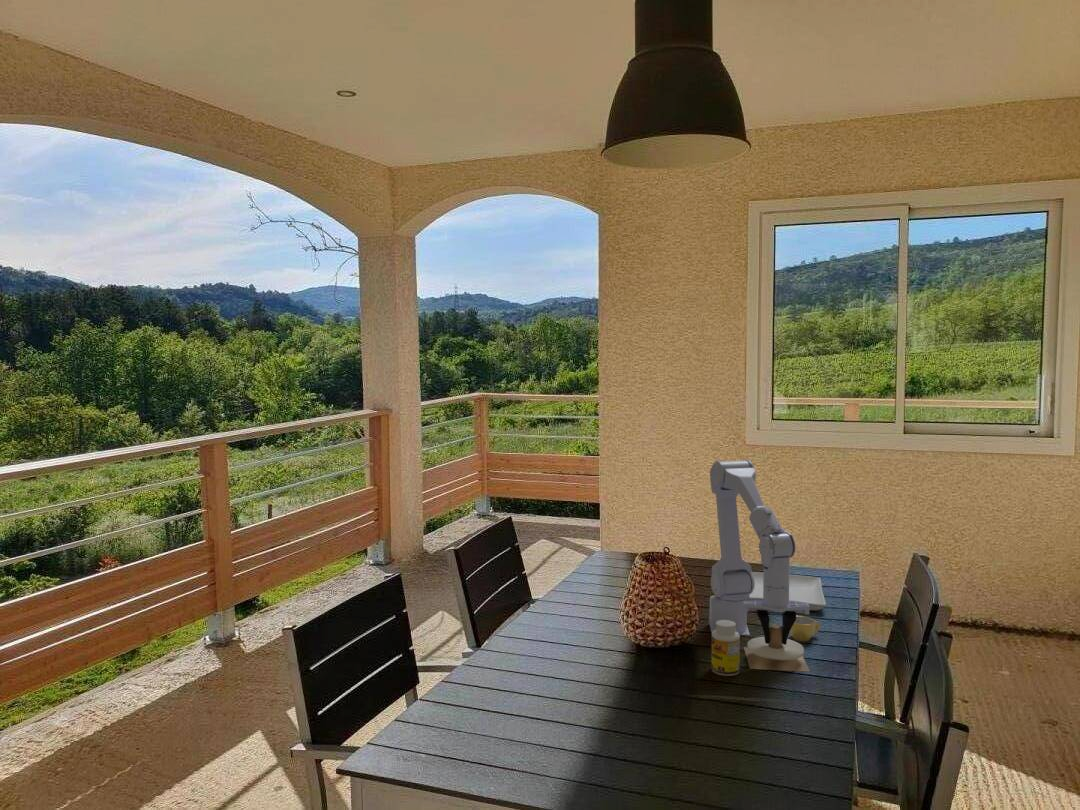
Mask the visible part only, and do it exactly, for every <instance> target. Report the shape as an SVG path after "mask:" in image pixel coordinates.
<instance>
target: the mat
mask: <svg viewBox="0 0 1080 810" xmlns="http://www.w3.org/2000/svg"><path fill="white" fill-rule="evenodd" d="M743 649H744V650H743V651H744V653H745V656H746V660H747V664H748V667H749V670H765V671H767V670H768V671H786V672H787V671H788V672H801V673H802V672H804V673H805V672H806V673H807V672H808V673H810V672H811V671H810V669H809V666H808V664H807V662H806V660H805V658H804V655H803V656H801V657H800V658H797V659H792V660H774V659H767V658H763V657H760V656H757V655H755V654H753V653H751V652H750V651H749V650H748V647H747V646H743Z"/></svg>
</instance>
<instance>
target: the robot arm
mask: <svg viewBox="0 0 1080 810" xmlns="http://www.w3.org/2000/svg"><path fill="white" fill-rule="evenodd" d="M756 473H757V472H756V468H755V466H754V464H753V463H752V461H751V460H749V459H744V460H728V461H727V460H726V461H725V460H724V461H719V460H717V461H714V462H713V464H712V465H711V468H710V470H709V479H710V488H711V493H712V494H715V502H716V511H717V513H716V514H717V523H718V524H717V526H718V537H719V545H720V546H719V547H720V548H719V550H720V559H719V560H718V561H717V562H716V563H715V564H714V565H712V567H711V578H710V587H711V591H712V593H713V594H714V595H710V597H709V617H708V625H709V630H710V632H711V634H712V632H713V631H714V630H716V628H715V627H716V622H717V621H719V620H729V621H733V622H735V624H736V632H738V633H739V635H740V636H743V635H744V636H750V635H751V634H750V632H749V628H748V625H747V623H748V622H747V619H748V617H747V616H748V612H749V613H750V612H756V614H757V617H758V620H759V622H760V624H761V628H762V632H763V637H764V638H765V643H766V644H769V625H770V617H769V616H770V615H769V613H781V616H782V617H781V619H782V622H781V623H782V624H781V625H782V627H783V644H784V645H786V643H787V639H789V634H790V630H791V628H792V626H793V624H794V622H795V621H796V616H797V615H796V614H804V615H810V610H809V605H808V604H805V603H796V602H789V574H790V570H791V568H790V567H791V565H790V564H791V563H790V562H791V561H790V559H791V558H793V556H794V555H795V552H796V542H795V539H794V537H793V534H792V533H790V532H789V531H787V530H786V528H782V526H781V525H780V522H779V521H778V519H777V517H776V516H775V515H776V514H775V513H774V512H773V510H772V509H771V508H770V507H769V506H765V504H764V502H763V500H762V497H761V495H760V493H759V490H758V489H759V488H758V487H757V485H756V475H757V474H756ZM738 495H739V496H740V497H741V499H742V501H743V502H744V504H745V505H746V507H747V509H748V510H749V512H750V514H749V517H748V519H749V522H750V523H751V525H752V527H753V529H754V531H755V534H756V536H757V537H758V539H759V543H758V549H759V550H758V551H759V554H760V558H761V561H760V562H761V565H763V572H764V578H763V600H757V601H747V598H750V594H751V593H752V592H753V590H754V587H755V582H754V578H753V575H752V572H753V571H752V566H751V565H750V564H749V563H748V562H746V561H745V560H744V559H742V550H741V540H740V537H741V536H740V529H739V528H740V526H739V515H738V505H737V504H738V503H737V498H738Z"/></svg>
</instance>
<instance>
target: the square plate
mask: <svg viewBox="0 0 1080 810" xmlns="http://www.w3.org/2000/svg"><path fill="white" fill-rule="evenodd" d="M752 575H753V578H754V582H755V587H754V590H753V592H752V593H751V594H750V598H747V601H757V600H763V578H764V571H762V572H760V571H752ZM824 595H825V594H824V591H823V586H822V579H821V578H820V577H818V576H808V575H799V574H797V575H796V574H790V573H789V602H796V603H805V604H808V605H809V611H820V610H822V609H823V608H825V607H826V606H827V603H826V599H825V596H824Z"/></svg>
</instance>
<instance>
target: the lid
mask: <svg viewBox="0 0 1080 810" xmlns="http://www.w3.org/2000/svg"><path fill="white" fill-rule="evenodd" d="M746 644H747V646H746V647H748V650H749V651H750V652H751V653H753V654H755V655H757V656H760V657H763V658H767V659H774V660H792V659H797V658H800V657H801V656H803V657H804V655H805V654H804V653H805V648H804V646H803V644H801V643H799V642H797V641H796V640H794V639H793V640H792V639H789V638H787V643H786V645H784V644H783V625H782V626H781V625H779V624H769V644H766V643H765V638H764V636H757V637H754V638H751V639H749V640H748V641H747V643H746Z"/></svg>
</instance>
